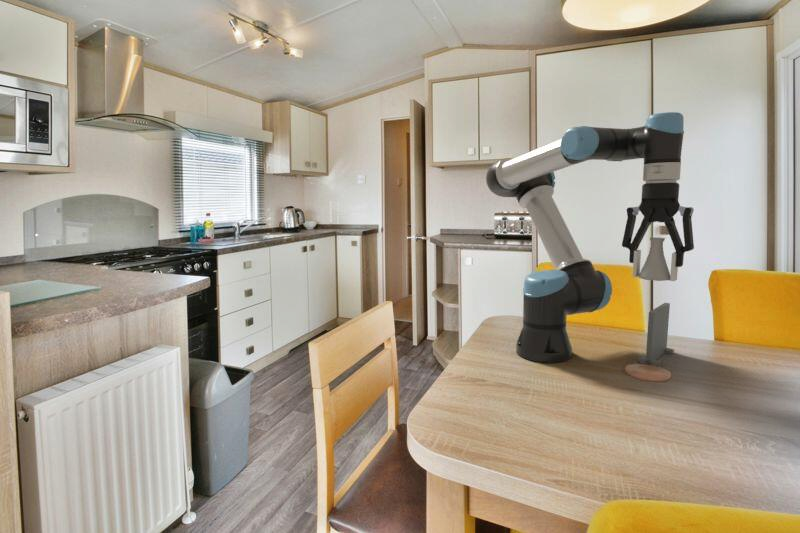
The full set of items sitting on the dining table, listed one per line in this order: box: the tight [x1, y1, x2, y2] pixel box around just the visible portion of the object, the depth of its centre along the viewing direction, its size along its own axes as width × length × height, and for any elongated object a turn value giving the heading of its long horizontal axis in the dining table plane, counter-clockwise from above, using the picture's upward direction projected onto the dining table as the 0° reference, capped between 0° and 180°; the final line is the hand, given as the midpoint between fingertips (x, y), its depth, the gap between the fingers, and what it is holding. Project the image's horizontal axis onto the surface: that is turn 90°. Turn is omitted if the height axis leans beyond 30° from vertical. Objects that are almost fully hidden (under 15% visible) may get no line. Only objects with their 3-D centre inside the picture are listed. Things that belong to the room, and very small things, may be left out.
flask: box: [637, 237, 671, 282], centre depth 107 cm, size 7×7×10 cm
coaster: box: [624, 363, 672, 383], centre depth 111 cm, size 10×10×1 cm
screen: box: [637, 302, 675, 367], centre depth 121 cm, size 5×14×14 cm, turn 135°
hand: (654, 278), depth 107 cm, fingers closed on flask, 7 cm apart
